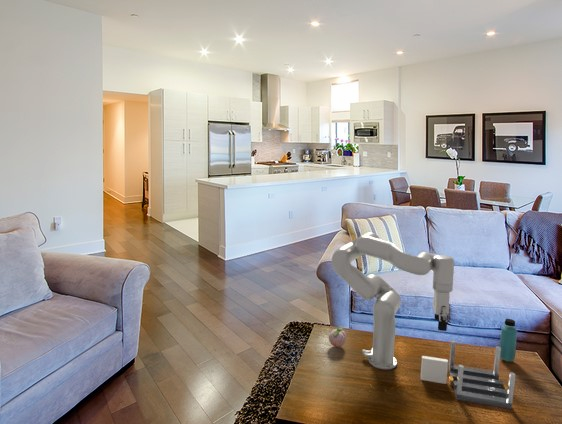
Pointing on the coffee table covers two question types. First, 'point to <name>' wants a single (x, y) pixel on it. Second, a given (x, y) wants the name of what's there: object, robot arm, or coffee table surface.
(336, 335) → the decorative fruit
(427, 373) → the block
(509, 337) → the beverage bottle
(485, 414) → the coffee table surface
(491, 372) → the rack
